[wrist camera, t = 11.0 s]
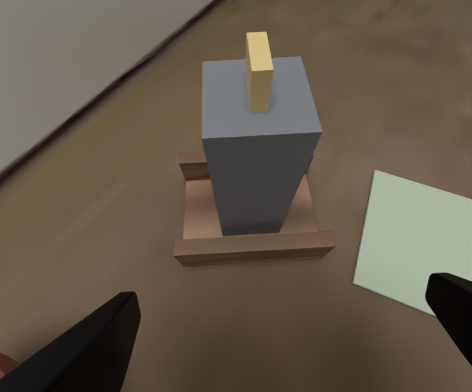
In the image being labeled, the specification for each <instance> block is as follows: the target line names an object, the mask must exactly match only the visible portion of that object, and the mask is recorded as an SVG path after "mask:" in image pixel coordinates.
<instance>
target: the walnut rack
mask: <svg viewBox="0 0 472 392" xmlns="http://www.w3.org/2000/svg"><path fill="white" fill-rule="evenodd" d="M312 159H313V155H312V157H311V159H310V162H309V164H308V166H307V169H306V171H305V173H304V176H303V178H302V180H301V183H300V185H299V187H298V190H297V192H296V194H295V197H294V199H293V201H292V204H291V206H290V208H289V211H288V213H287V215H286V218H285V220H284V222H283V225H282V227H281V229H280V232H279V233H270V234H253V235H236V236H223V235H222V230H221V226H220V221H219V216H218V212H217V207H216V202H215V198H214V193H213V189H212V184H211V179H210V175H209V170H208V165H207V161H206V156H205V151H202V152H184V153H180V160H179V164H180V167H181V169H182V172H183V174H184V177H185V179H186V193H185V214H184V236H183V240H174V254H173V256H174V257H175V258H176V259H177V260H178V261H179V262H180V263H181V264H182V265H183V266H196V265H213V264H230V263H247V262H264V261H280V260H297V259H314V258H322V257H323V256H324V255H325V254H327V253H328V252H329V251H330V250H332V249H333V248H334V247H336V245H335V241H334V237H333V233H332V231H320V232H318V228H317V224H316V219H315V214H314V210H313V205H312V201H311V196H310V192H309V187H308V182H307V178H306V172H307V170H308V168H309V165H310V163H311V161H312Z"/></svg>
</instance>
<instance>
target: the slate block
mask: <svg viewBox="0 0 472 392" xmlns="http://www.w3.org/2000/svg"><path fill="white" fill-rule="evenodd" d="M321 134H322V129H321V126H320V122H319V118H318V115H317V111H316V108H315V104H314V101H313V97H312V94H311V90H310V87H309V83H308V80H307V76H306V73H305V69H304V66H303V62H302V59H301V57H282V58H271V54H270V49H269V44H268V39H267V34H266V32H254V33H247V43H246V59H245V60H226V61H207V62H203V69H202V142H203V147H204V151H205V156H206V161H207V165H208V170H209V175H210V179H211V184H212V189H213V193H214V198H215V202H216V207H217V212H218V216H219V221H220V226H221V230H222V235H223V236H236V235H253V234H270V233H279V232H280V229H281V227H282V225H283V222H284V220H285V218H286V215H287V213H288V211H289V208H290V206H291V204H292V201H293V199H294V197H295V194H296V192H297V190H298V187H299V185H300V183H301V180H302V178H303V176H304V173H305V171H306V169H307V166H308V164H309V162H310V159H311V157H312V155H313V152H314V150H315V148H316V145H317V143H318V141H319V138H320V136H321Z"/></svg>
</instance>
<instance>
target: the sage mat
mask: <svg viewBox="0 0 472 392" xmlns="http://www.w3.org/2000/svg"><path fill="white" fill-rule="evenodd" d="M440 272H447V273H450V274H453V275H456V276H459V277H461V278H464V279H467V280H470V281H472V199H469V198H465V197H462V196H459V195H455V194H452V193H449V192H446V191H442V190H439V189H436V188H433V187H429V186H426V185H423V184H420V183H416V182H413V181H410V180H407V179H403V178H400V177H397V176H394V175H390V174H387V173H384V172H381V171H377V170H375V171H374V173H373V178H372V183H371V188H370V193H369V198H368V203H367V209H366V214H365V219H364V224H363V229H362V234H361V239H360V244H359V249H358V254H357V259H356V264H355V270H354V275H353V280H352V284H355V285H357V286H360V287H362V288H365V289H367V290H370V291H372V292H375V293H377V294H380V295H382V296H385V297H387V298H389V299H392V300H394V301H397V302H399V303H402V304H404V305H407V306H409V307H412V308H414V309H417V310H419V311H422V312H424V313H427V314H429V315H432V316H434V317H436V315H435V314H434V313H433V311H432V310H431V308H430V307H429V305H428V304H427V302H426V299H425V293H426V288H427V284H428V279H429V276H430V275H431V274H432V273H440Z"/></svg>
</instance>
